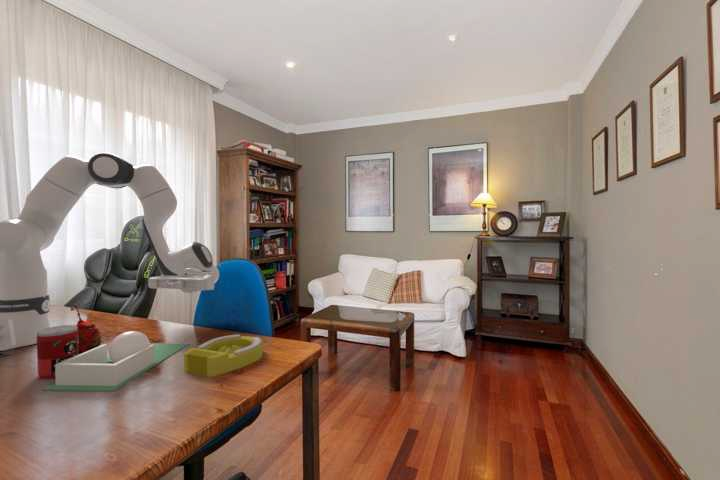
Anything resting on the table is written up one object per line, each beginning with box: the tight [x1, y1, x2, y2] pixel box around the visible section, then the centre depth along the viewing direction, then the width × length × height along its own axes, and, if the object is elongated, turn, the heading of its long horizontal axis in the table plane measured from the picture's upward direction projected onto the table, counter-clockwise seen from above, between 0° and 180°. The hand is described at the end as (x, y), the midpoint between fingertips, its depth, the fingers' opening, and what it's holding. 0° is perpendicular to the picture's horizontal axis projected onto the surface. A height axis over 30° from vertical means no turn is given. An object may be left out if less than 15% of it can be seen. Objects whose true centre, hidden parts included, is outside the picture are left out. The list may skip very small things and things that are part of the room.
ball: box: [108, 330, 151, 364], centre depth 90 cm, size 9×9×9 cm
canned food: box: [36, 324, 79, 380], centre depth 85 cm, size 8×8×11 cm
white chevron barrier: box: [55, 343, 155, 386], centre depth 84 cm, size 14×14×5 cm
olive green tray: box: [183, 334, 264, 378], centre depth 94 cm, size 16×21×5 cm
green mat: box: [42, 342, 189, 392], centre depth 91 cm, size 31×16×1 cm, turn 178°
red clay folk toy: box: [70, 301, 102, 355], centre depth 100 cm, size 8×7×15 cm
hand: (167, 286), depth 109 cm, fingers closed
